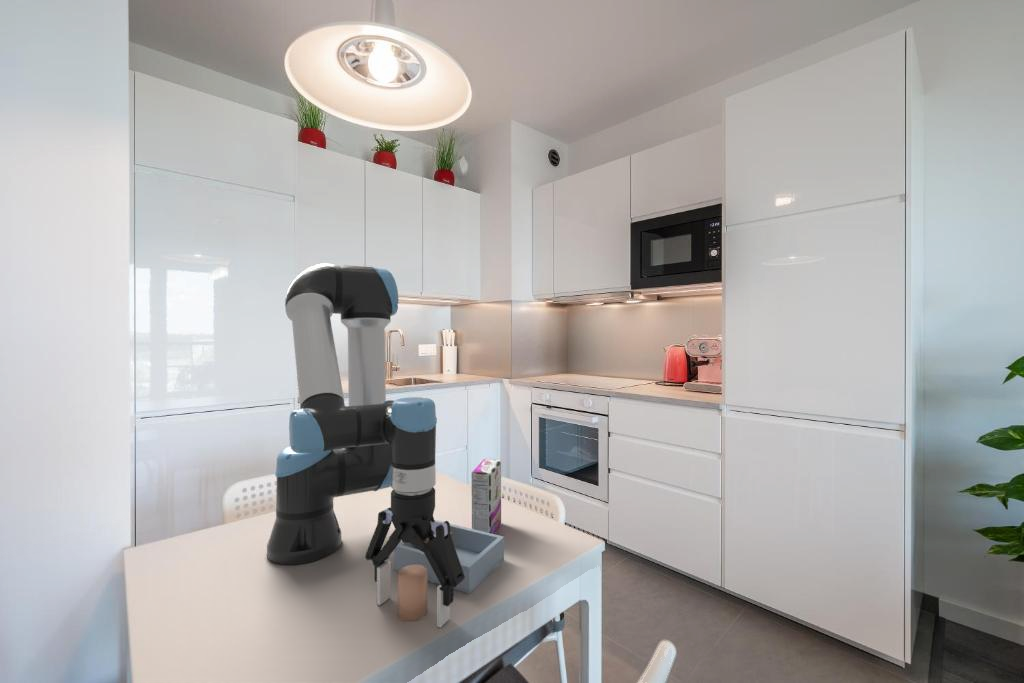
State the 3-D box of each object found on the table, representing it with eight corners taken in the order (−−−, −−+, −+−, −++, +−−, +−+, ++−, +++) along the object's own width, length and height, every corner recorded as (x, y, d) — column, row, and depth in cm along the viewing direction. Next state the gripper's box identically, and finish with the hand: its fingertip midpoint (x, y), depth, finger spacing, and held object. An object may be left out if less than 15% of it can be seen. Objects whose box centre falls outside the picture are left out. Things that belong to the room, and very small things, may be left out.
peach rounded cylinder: (391, 616, 75) (391, 576, 75) (409, 600, 80) (409, 562, 80) (415, 624, 73) (416, 583, 73) (432, 607, 78) (433, 568, 78)
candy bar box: (482, 521, 114) (483, 458, 114) (501, 523, 113) (502, 459, 113) (470, 541, 103) (470, 471, 103) (490, 543, 102) (491, 472, 102)
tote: (394, 569, 90) (394, 545, 90) (435, 541, 102) (435, 520, 102) (469, 593, 82) (469, 567, 82) (503, 559, 94) (504, 536, 94)
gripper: (344, 483, 78) (344, 602, 79) (461, 508, 67) (460, 647, 68) (375, 471, 85) (374, 581, 85) (485, 493, 74) (484, 619, 74)
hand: (412, 611), depth 76 cm, fingers open, 12 cm apart
